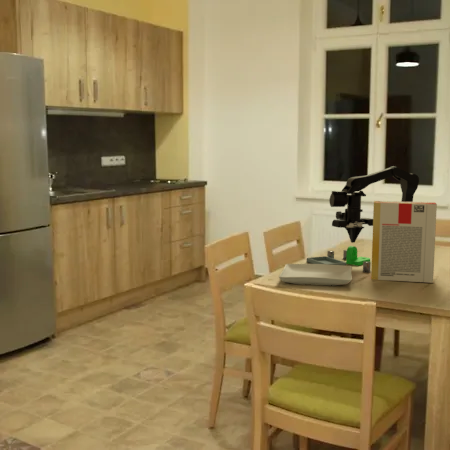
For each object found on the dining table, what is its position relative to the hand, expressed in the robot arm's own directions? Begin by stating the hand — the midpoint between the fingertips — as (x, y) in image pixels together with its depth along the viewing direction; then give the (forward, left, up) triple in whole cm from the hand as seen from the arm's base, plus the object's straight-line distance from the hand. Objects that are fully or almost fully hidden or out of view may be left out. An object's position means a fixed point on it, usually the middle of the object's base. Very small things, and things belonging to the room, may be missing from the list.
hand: (352, 242), depth 264 cm
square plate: (+29, +17, -11) cm, 35 cm away
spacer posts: (-4, 0, -10) cm, 11 cm away
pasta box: (-1, +30, -10) cm, 32 cm away
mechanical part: (-6, -3, -10) cm, 12 cm away
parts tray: (+10, -6, -10) cm, 15 cm away
